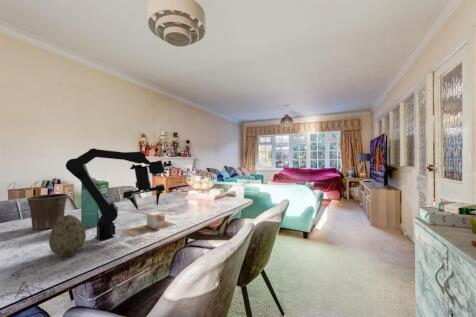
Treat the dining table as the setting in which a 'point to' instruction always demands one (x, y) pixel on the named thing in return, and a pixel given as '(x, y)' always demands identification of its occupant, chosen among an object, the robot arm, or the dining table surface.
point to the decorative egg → (67, 236)
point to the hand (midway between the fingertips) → (147, 207)
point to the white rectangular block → (155, 219)
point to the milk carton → (92, 204)
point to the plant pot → (46, 210)
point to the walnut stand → (145, 229)
